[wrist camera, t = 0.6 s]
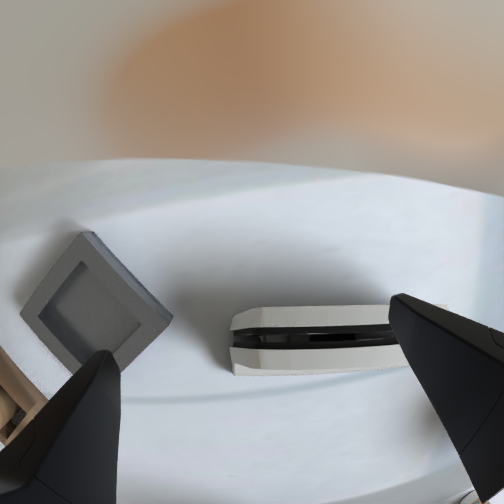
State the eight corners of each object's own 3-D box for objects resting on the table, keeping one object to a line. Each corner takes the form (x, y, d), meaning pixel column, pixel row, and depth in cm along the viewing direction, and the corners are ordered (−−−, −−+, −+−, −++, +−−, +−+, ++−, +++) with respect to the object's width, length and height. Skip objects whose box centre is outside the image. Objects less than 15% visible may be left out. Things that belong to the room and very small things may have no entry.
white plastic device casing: (227, 373, 25) (236, 392, 15) (228, 317, 26) (237, 302, 17) (405, 364, 27) (476, 365, 17) (404, 316, 28) (474, 300, 18)
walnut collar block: (22, 442, 23) (12, 453, 21) (-32, 381, 22) (-44, 389, 20) (54, 405, 23) (43, 418, 21) (-8, 335, 22) (-22, 343, 20)
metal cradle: (105, 383, 24) (96, 396, 21) (33, 307, 23) (19, 314, 20) (173, 316, 24) (168, 325, 22) (93, 231, 23) (81, 232, 21)
